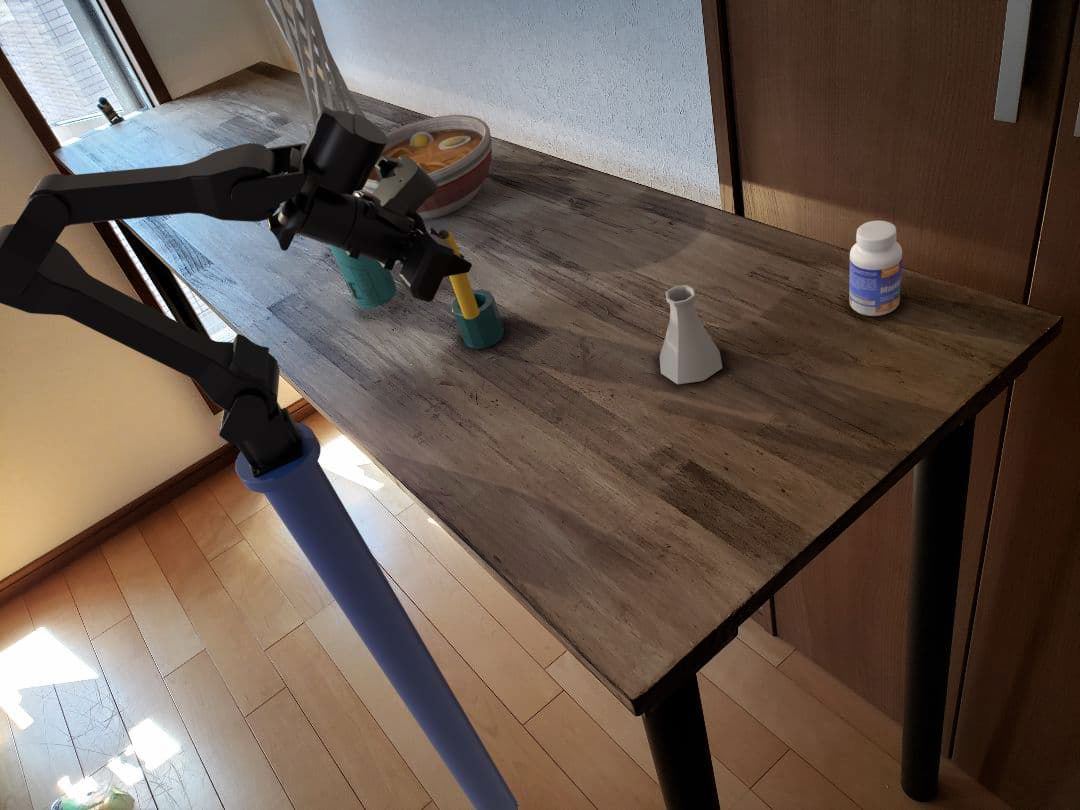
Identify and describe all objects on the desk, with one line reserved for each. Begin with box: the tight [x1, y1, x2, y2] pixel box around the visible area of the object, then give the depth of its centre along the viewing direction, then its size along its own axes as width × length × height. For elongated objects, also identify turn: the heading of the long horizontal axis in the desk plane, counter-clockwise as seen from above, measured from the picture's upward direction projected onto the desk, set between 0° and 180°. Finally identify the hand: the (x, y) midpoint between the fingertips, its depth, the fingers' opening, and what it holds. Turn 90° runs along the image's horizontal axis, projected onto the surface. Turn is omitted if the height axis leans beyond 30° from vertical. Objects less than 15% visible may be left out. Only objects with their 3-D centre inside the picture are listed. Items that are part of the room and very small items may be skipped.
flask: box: [659, 284, 723, 385], centre depth 93 cm, size 7×7×10 cm
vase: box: [263, 0, 368, 128], centre depth 153 cm, size 14×13×35 cm
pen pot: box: [450, 289, 505, 350], centre depth 108 cm, size 5×5×6 cm
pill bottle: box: [848, 220, 903, 317], centre depth 93 cm, size 5×5×10 cm
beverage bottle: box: [328, 244, 397, 309], centre depth 115 cm, size 6×7×20 cm
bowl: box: [362, 114, 493, 221], centre depth 138 cm, size 23×23×10 cm
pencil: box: [437, 228, 479, 319], centre depth 98 cm, size 2×2×12 cm
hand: (466, 264), depth 97 cm, fingers closed on pencil, 2 cm apart
